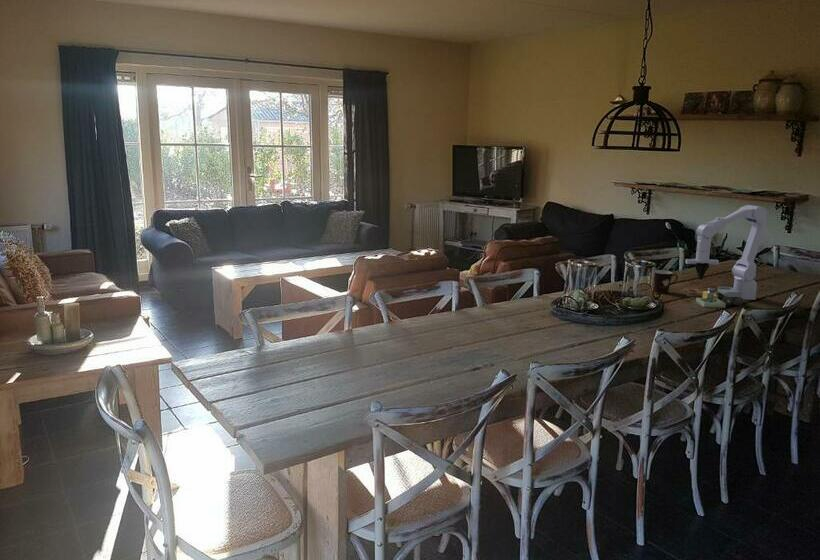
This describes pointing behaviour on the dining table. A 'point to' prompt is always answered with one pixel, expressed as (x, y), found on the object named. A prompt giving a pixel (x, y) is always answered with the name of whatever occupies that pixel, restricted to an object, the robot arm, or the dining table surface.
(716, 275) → the dining table surface
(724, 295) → the trolley
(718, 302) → the tray
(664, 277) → the coffee mug
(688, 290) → the pin socket
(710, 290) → the stop pin
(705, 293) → the block
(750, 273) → the robot arm
